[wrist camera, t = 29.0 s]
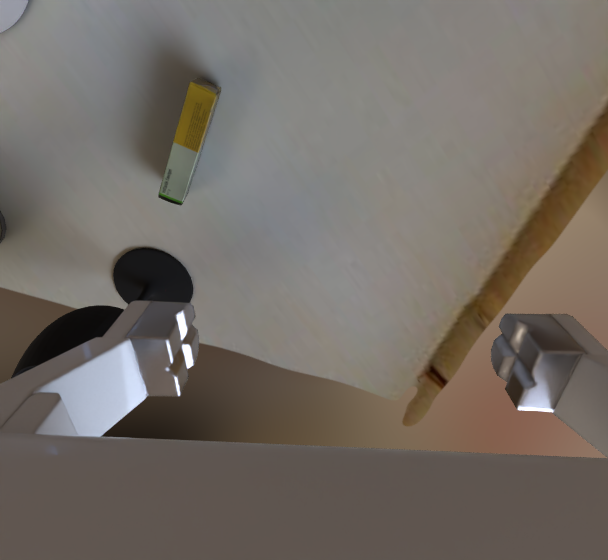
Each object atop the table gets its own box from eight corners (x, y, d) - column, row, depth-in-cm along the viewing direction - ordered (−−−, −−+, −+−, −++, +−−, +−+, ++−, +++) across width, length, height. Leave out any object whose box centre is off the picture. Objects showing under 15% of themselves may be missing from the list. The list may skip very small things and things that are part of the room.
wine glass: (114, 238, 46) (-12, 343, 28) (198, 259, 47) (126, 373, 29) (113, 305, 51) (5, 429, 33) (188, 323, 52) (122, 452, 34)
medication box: (189, 194, 42) (181, 208, 39) (165, 184, 42) (155, 198, 38) (223, 88, 37) (217, 93, 33) (196, 75, 36) (187, 79, 33)
